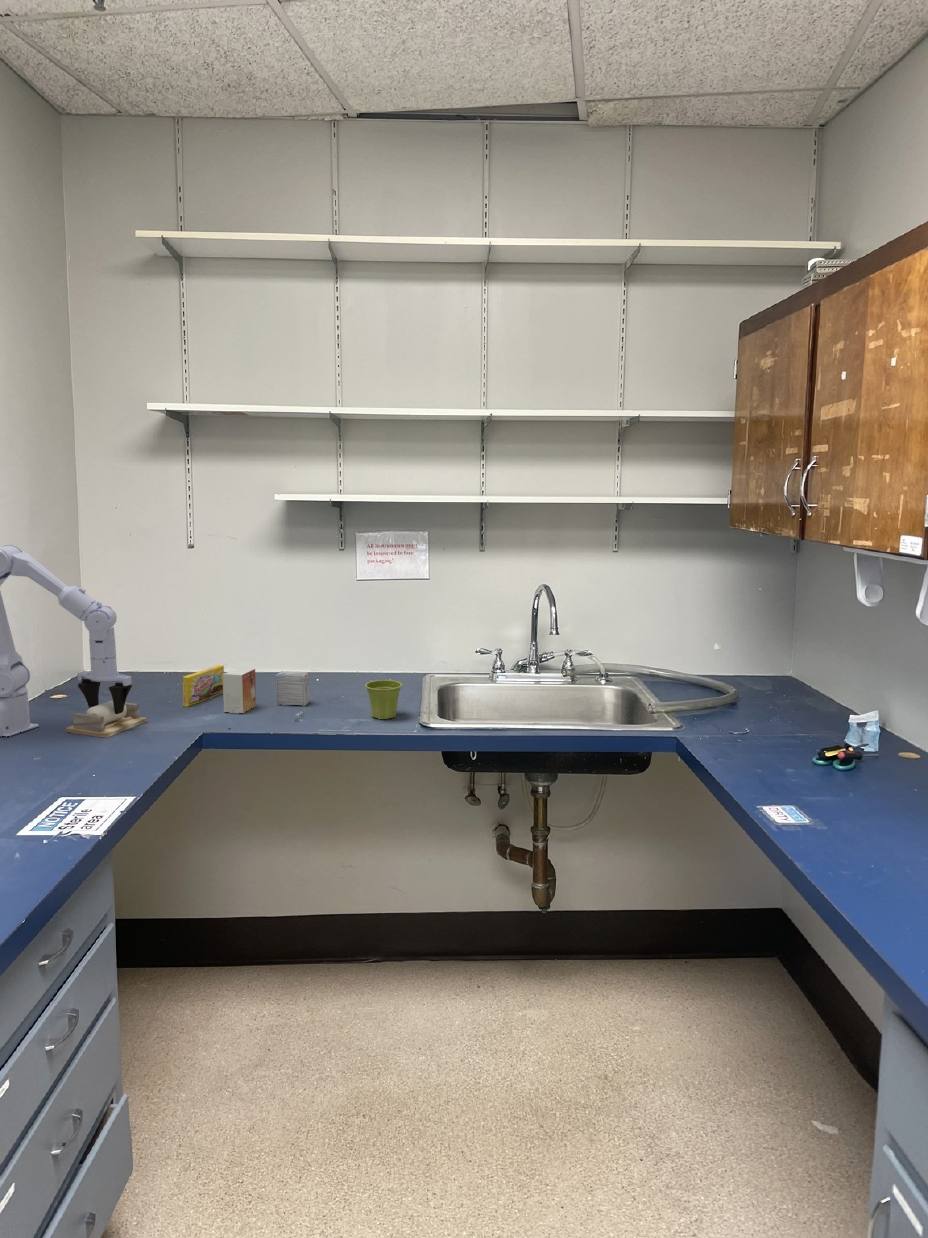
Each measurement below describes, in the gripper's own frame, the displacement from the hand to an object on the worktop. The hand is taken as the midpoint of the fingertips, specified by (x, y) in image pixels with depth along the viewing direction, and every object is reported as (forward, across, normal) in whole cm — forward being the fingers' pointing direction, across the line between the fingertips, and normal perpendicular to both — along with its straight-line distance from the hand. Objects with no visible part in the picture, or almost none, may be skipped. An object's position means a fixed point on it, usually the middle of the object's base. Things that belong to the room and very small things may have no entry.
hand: (106, 711), depth 199 cm
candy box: (+4, -6, -30) cm, 31 cm away
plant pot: (+4, -59, -33) cm, 68 cm away
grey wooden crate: (+4, -31, -35) cm, 47 cm away
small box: (+4, -21, -25) cm, 33 cm away
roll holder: (+4, 0, 0) cm, 4 cm away
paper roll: (+3, 0, 0) cm, 3 cm away
